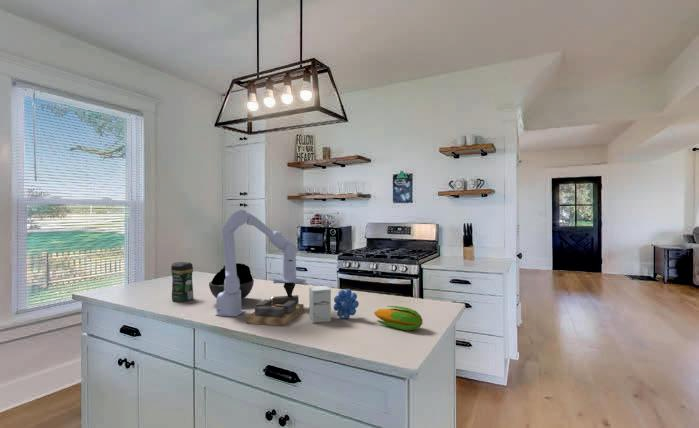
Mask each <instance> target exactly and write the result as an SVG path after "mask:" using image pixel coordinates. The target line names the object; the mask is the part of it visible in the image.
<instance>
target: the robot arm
mask: <svg viewBox="0 0 699 428" xmlns="http://www.w3.org/2000/svg"><path fill="white" fill-rule="evenodd" d="M245 224H246V225H249V226H253V227H255V228H256V229H258V230H259V232H261V233H263V234H264V235H265V236H267V238H268V240H267V241H268V242H269V243H271V245H273V246H274V247H275V248H277V249H278V250H280V251H281V252H282V253H283V254H282V255H283V256H282V257H283V258H282V277H280V278H278V277H276V278H273V284H283V288H284V290H285V292H286V294H287V295H286V296H293V292H294V288H295V287H296V285H307V279H304V278H297V258H296V257H297V252H298V249H297V246H296V245H295V243H294V242H292V241H291V239H290V238H287V237H286V236H284V234H283V232H282V231H278V230H272V229H271V228H269V227H268V226H267V225H266V224H265V223H264V222H262V220H260V219H259V218H258V217H257V216H255V215H253V214H251V213H249V212H247V210H245V209H242V208H240V209H236V210H235V211H233V212H232V213H231V214H230V215H229V217H227V220H226V221H225V222H224V225H223V226H222V229H221V231H222V232H221V233H222V242H223V243H222V244H223V257H224V265H225V276H226V278H225V280H224V291H223V292H220V293H219V294H218V296H217V298H216V313H215V316H219V317H220V316H223V317H238V316H239V315H241V314H243V313H244V312H246V309H242V300H241V290H240V289H239V288H240V283H239V282H240V281H239V278H238V277H237V271H236V263H237V259H236V258H237V257H236V245H235V235H234V233H235V232H236V231H237V230H238V228H239V227H240V226H242V225H245Z"/></svg>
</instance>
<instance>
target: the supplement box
mask: <svg viewBox="0 0 699 428" xmlns="http://www.w3.org/2000/svg"><path fill="white" fill-rule="evenodd" d="M308 288H309V296H308V297H309V319H310V320H311V322H312V324H315V323H316V324H317V323H326V322H327V323H328V322H332V308H331V307H332V303H331V302H332V301H331V299H332V295H331V294H332V293H331V292H332V291H331V288H330V287H329V285H320V286H309V287H308Z"/></svg>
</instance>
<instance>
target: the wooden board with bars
mask: <svg viewBox="0 0 699 428" xmlns="http://www.w3.org/2000/svg"><path fill="white" fill-rule="evenodd" d="M304 305H305V304H304V303H303V304H302V303H299V304H296V301H288V302H287V303H285V304H284V305H279V304H276V305H273V306H272V300H270V299H264V300H262V301H259V302H258V303H257V304H255V307H254V311H253V312H250V314H248V315H246V316H245V323H246V324H254V325H255V324H256V325H268V326H269V325H271V326H283V327H284V326H286V325H288V324H289V323H290V322H292V321H293V319H294V318H296V317H297V316H298V315H300V313H302V312H303V311H304V309H305V308H304V307H305V306H304Z"/></svg>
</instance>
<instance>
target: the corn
mask: <svg viewBox="0 0 699 428" xmlns="http://www.w3.org/2000/svg"><path fill="white" fill-rule="evenodd" d="M386 307H389V308H379V309H377V310H375V311H374V312H373V314H374V315H375V316H376V317H377V318H378V319H379V320H378V319H377V320H376V322H378V323H379V324H381V325H382V326H386V327H390V328H394V329H398V330H403V331H407V332H410V331H414V330H417V329H419V328H420V327H421V326H422V325H423V317H422V315H421V314H420V313H419V312H417V311H416V310H415V309H412V308H410V307H404V306H399V305H386Z"/></svg>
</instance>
